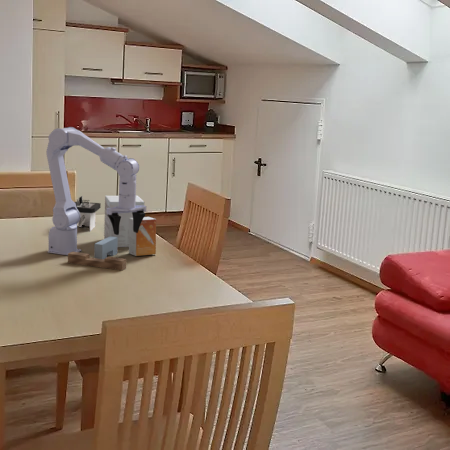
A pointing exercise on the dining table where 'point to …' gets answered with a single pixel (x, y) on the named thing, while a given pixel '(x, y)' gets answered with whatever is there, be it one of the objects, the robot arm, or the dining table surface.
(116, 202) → the supplement box
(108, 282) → the dining table surface
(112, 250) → the plain blue-gray board
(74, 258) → the notched rail
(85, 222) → the black-topped pedestal
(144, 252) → the small box
